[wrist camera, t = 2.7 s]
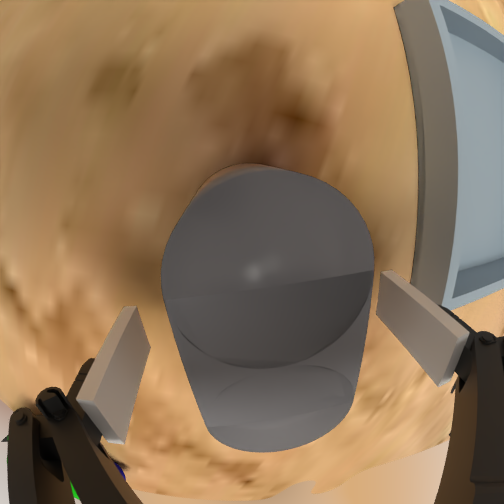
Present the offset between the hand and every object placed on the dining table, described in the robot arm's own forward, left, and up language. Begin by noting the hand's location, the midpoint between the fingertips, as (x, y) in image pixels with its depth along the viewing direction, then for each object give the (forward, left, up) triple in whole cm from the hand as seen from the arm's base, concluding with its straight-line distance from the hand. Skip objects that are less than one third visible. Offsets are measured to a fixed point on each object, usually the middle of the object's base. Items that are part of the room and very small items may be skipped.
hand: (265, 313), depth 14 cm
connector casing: (+1, 0, -4) cm, 4 cm away
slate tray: (-8, +20, -4) cm, 22 cm away
